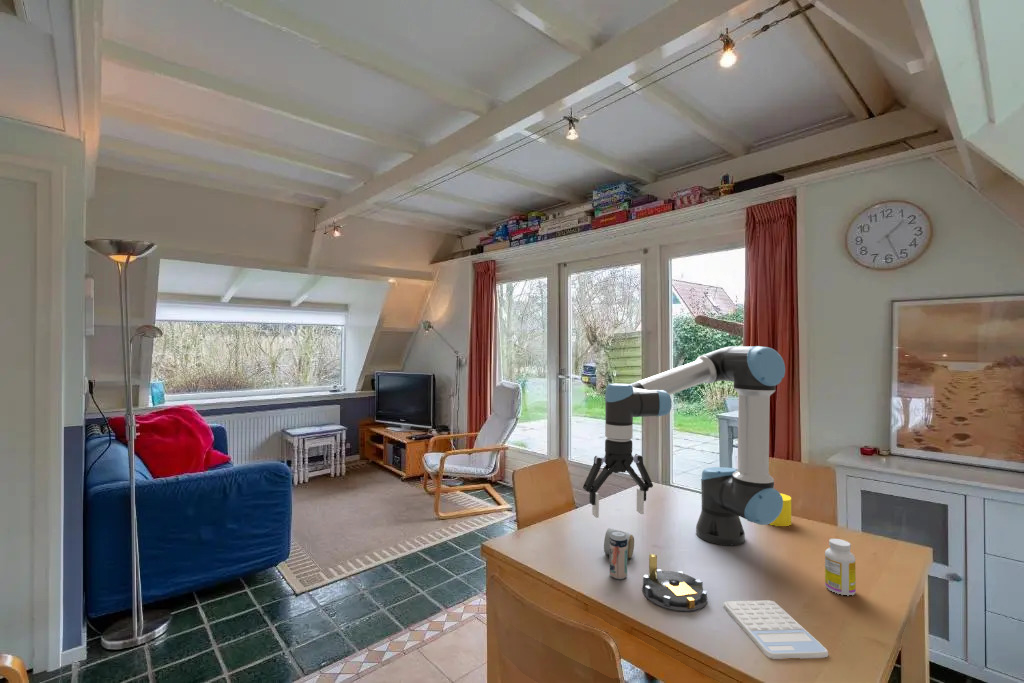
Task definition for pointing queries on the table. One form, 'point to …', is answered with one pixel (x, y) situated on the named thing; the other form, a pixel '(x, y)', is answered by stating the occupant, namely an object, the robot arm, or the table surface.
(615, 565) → the beer can
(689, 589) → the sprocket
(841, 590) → the supplement bottle
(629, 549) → the ceramic mug
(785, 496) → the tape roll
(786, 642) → the calculator
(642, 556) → the table surface
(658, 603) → the hub plate
